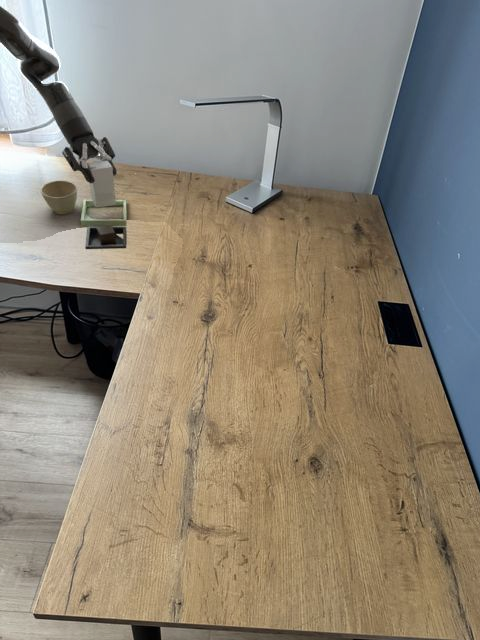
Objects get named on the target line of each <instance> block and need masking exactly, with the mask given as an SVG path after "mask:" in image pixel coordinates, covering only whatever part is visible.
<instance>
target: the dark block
mask: <svg viewBox="0 0 480 640" xmlns="http://www.w3.org/2000/svg"><path fill="white" fill-rule="evenodd" d="M112 227H113V226H103V227H97V235H98V241H99V243H100V245H116V239H115V232H114V230H113V228H112Z"/></svg>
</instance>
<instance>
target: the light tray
mask: <svg viewBox="0 0 480 640" xmlns="http://www.w3.org/2000/svg"><path fill="white" fill-rule="evenodd" d="M115 201H116V204H115V205H109V206H108V207H112V206H113V207H115V206H116V207H117V206H118V207H119V206H122V207H123V210H122V213H123V216H122V218H120V219H118V218H99V219H98V218H92V217H91V216H90V215H88V214H87V207H96V206H95V205H94V203H93V201H92V199H83V200H82V205H81V206H82V208H81V215H80V225H81V228H87V227H103V226H112V227H127V226H128V225H127V213H128V212H127V200H126V199H115Z"/></svg>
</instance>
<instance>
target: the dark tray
mask: <svg viewBox="0 0 480 640" xmlns="http://www.w3.org/2000/svg"><path fill="white" fill-rule="evenodd" d="M112 228H113V230H114V232H115V239H116V245H100V243H99V241H98V235H97V227H86V235H85V245H84V249H85V250H115V249H116V250H117V249H118V250H119V249H127V243H128V240H127V238H128V237H127V236H128V235H127V233H128V231H127V226H112ZM119 235H122V237H121V236H119Z"/></svg>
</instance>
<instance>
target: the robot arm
mask: <svg viewBox="0 0 480 640" xmlns="http://www.w3.org/2000/svg"><path fill="white" fill-rule="evenodd" d="M0 45H1V46H2V48H4V49H5V50H6V51H7V52H8V53H9V54H10V55H11V56H12V57H13V58H14V59H16V60H17V68H18V70H19V72H20V73H21V75H22V76H23V77H24V79H26V81H28V82H29V84H30V85H32V86H33V88H34V89H35V90H36V91H37V92H38V93H39V95H40V96H41V98H42V99H43V100H44V102H45V104H46V106H47V107H48V109H49V111H50V112H51V114H52V117H53V119H54V121H55V123H56V125H57V127H58V128H59V130H60V132H61V134H62V135H63V137H64V139H65V140H66V142H67V144H68V145H69V147H68V146H65V148H64V149H63V150H62V151H61V153H62V156H63V157H64V159H65V161H66V162H67V163H68V165H69V166H70V168H71V169H72V171H73V172H81V174H82V175H83V177H84V179H85V181H86V182H87V183H89V185H90V184H91V183H93V182H94V181H95V179H94V177H93V176H92V174H91V172H90V170H89V169H88V167H87V163H88V161H89V160H90V159H94V158H96V160H98V161H108V162H109V163H110V165H111V166H112V168H113V177H116V175H117V174H118V173H117V168H116V167H115V165H114V163H113V159H114V158H116V154H115V151H114V149H113V148H112V145H111V143H110V142H109V140H108V138H107V137H106V136H104V137H102V138H100V139H97V138H96V137H95V135H94V131H93V129H92V128H91V126H90V124H89V122H88V121H87V119H86V117H85V115H84V113H83V112H82V110H81V108H80V107H79V105H78V104H77V103H76V101H75V99H74V97H73V96H72V94H71V91H70V90H69V89H68V87H67V86H66V84H65V83H64V82H62V81H51V82H48V83H44V82H43V81H45V80H47V79H48V78H51V77H52V76H54V75H56V74H57V73H58V72H59V71H60V69H61V61H60V58H59V56H58V54H57V53H56V52H55V51H54V49H52V47H50V46H49V45H48V44H46V43H44V41H41V40H40V39H38V38H36V37H34V36H33V35H32V34H31V33H30V32H29V31H28V29H26V28H25V27H24V25H23V24H22V23H21V22H20V20H18V19H17V18H16V17H15V16H14V15H13V14H12V13H10V12H9V11H8V10H7V9H5V8H4V7H2V6H1V5H0ZM74 154H75V155H76V156H77V159H76V157H75V155H74Z"/></svg>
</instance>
